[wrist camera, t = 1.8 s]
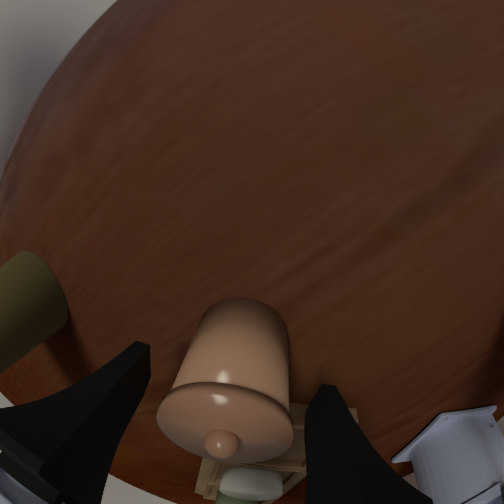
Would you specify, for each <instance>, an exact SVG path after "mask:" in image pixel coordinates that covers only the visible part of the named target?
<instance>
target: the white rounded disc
mask: <svg viewBox="0 0 504 504" xmlns="http://www.w3.org/2000/svg"><path fill="white" fill-rule="evenodd" d="M282 488H283V474H282V472H281V471H279V470H270V469H261V468H254V467H247V466H241V465H231V466H228V467H226V468H224V469H223V472H222V478H221V483H220V488H219V490H220V492H222V493H223V494H225V495H227V496H230V497H233V498H237V499H242V500H252V501H263V500H271V499H276V498H278V497H280V496H281V495H282Z"/></svg>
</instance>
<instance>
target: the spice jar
mask: <svg viewBox="0 0 504 504" xmlns="http://www.w3.org/2000/svg"><path fill="white" fill-rule="evenodd" d="M157 423H158V425H159V427H160V429H161V431H162V432H163V433H164V434H165V435H166V436H167V437H168V438H169V439H170V440H171V441H172V442H174V443H175V444H177V445H178V446H180V447H181V448H183V449H185V450H187V451H189V452H191V453H193V454H196V455H198V456H201V457H204V458H207V459H211V460H215V461H221V462H228V463H255V462H261V461H266V460H269V459H272V458H275V457H277V456H279V455H281V454H283V453H284V452H285V451H287V450H288V449H289V447H290V446H291V444H292V442H293V420H292V417H291V415H290V413H289V357H288V330H287V326H286V324H285V322H284V320H283V318H282V317H281V316H280V315H279V314H278V313H277V312H276V311H275V310H274V309H273V308H271V307H270V306H268V305H266V304H264V303H262V302H260V301H256V300H253V299H248V298H231V299H226V300H223V301H220V302H218V303H216V304H214V305H212V306H211V307H210V308H209V309H208V310H207V311H206V312H205V313H204V315H203V316H202V318H201V321H200V323H199V325H198V328H197V330H196V332H195V335H194V337H193V339H192V342H191V344H190V346H189V349H188V351H187V354H186V356H185V358H184V361H183V363H182V365H181V368H180V370H179V373H178V375H177V377H176V380H175V382H174V385H173V387H172V389H171V390H170V391H169V392H168V393H167V394H166V395H165V396H164V398H163V400H162V402H161V405H160V407H159V409H158V412H157Z"/></svg>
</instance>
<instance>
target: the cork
mask: <svg viewBox="0 0 504 504" xmlns="http://www.w3.org/2000/svg"><path fill="white" fill-rule="evenodd" d="M67 319H68V307H67V303H66V299H65V296H64V293H63V291H62V289H61V286H60V284H59V282H58V280H57V278H56V277H55V275H54V274H53V272H52V271H51V269H50V268H49V267H48V266H47V264H46V263H45V262H44V261H43V260H42V259H41V258H40V257H38V256H37V255H35V254H34V253H32V252H29V251H22V252H19V253H17V254H16V255H15V256H14V257H12V258H11V259H10V260H9V261H8V262H7V263H5V264H4V265H3V266H2V267H1V268H0V374H1V373H3V372H4V371H5V370H6V369H8V368H9V367H10V366H12V365H13V364H14V363H15V362H17V361H18V360H19V359H21V358H22V357H23V356H24V355H26V354H27V353H28V352H30V351H31V350H32V349H34V348H35V347H36V346H38V345H39V344H40V343H42V342H43V341H44V340H46V339H47V338H49V337H50V336H51V335H53V334H54V333H55V332H57V331H58V330H60V329H61V328H62V327H64V326H65V324H66V322H67Z"/></svg>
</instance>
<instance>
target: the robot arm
mask: <svg viewBox="0 0 504 504" xmlns="http://www.w3.org/2000/svg"><path fill="white" fill-rule="evenodd" d="M150 377H151V370H150V345H148V344H145V343H142V342H139V341H135V342H134V343H132V344H131V345H130V346H129V347H127V348H126V349H125V350H124V351H122V352H121V353H120V354H119V355H117V356H116V357H115V358H113V359H112V360H111V361H109V362H108V363H107V364H105V365H104V366H102V367H101V368H100V369H98V370H97V371H95V372H94V373H92V374H90V375H89V376H87V377H86V378H84V379H83V380H81V381H79V382H77V383H76V384H74V385H72V386H70V387H68V388H66V389H64V390H62V391H60V392H57V393H55V394H53V395H50V396H48V397H45V398H42V399H39V400H36V401H33V402H29V403H26V404H22V405H17V406H12V407H6V408H0V450H1V451H2V452H1V453H0V504H101V500H102V495H103V491H104V487H105V483H106V480H107V477H108V473H109V470H110V467H111V464H112V461H113V458H114V455H115V453H116V450H117V447H118V444H119V442H120V440H121V437H122V435H123V433H124V431H125V429H126V427H127V426H128V424H129V422H130V420H131V418H132V416H133V414H134V413H135V411H136V409H137V407H138V405H139V403H140V401H141V399H142V398H143V396H144V393H145V390H146V388H147V385H148V383H149V380H150ZM496 409H497V407H496V405H493V406H488V407H482V408H476V409H470V410H463V411H456V412H448V413H442V414H440V415H438V416H437V417H436V418H435V419H434V420H433V421H432V422H431V423H430V424H429V426H428V427H427V428H426V429H425V430H424V431H422V432H421V433H420V434H419V435H418V436H417V437H416V438H415V439H414V440H413V441H412V442H411V443H410V444H409V445H408V446H406V447H405V448H404V449H403V450H402V451H401V452H400V453H398V454H397V455H396V456H395V457H394V458H393V459H392V463H399V462H406V461H412V465H413V468H414V472H415V476H416V480H417V484H418V489H419V490H417V489H416V488H414V487H413V486H412V485H410V484H409V483H408V482H406V481H405V480H404V479H403V478H402V477H401V476H399V475H398V474H397V473H396V472H395V471H394V470H393V469H392V468H391V467H390V466H389V465H388V464H387V463H386V462H385V461H384V460H383V458H382V457H381V456H380V455H379V454H378V452H377V451H376V450H375V449H374V448H373V446H372V445H371V444H370V442H369V441H368V439H367V438H366V436H365V435H364V434H363V432H362V431H361V429H360V427H359V426H358V424H357V423H356V421H355V419H354V418H353V416H352V414H351V413H350V411H349V409H348V407H347V406H346V404H345V402H344V400H343V398H342V397H341V395H340V393H339V391H338V390H337V388H336V386H335V385H326V384H322V385H321V387H320V388H319V390H318V392H317V393H316V395H315V397H314V398H313V400H312V401H311V403H310V405H309V406H308V408H307V409H306V411H305V421H304V441H305V455H306V471H307V484H306V497H305V504H504V482H502V481H503V480H504V437H503V435H502V434H501V431H500V429H499V427H498V425H497V423H496V421H495V419H494V417H493V415H492V414H493V412H494V411H495V410H496Z"/></svg>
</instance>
